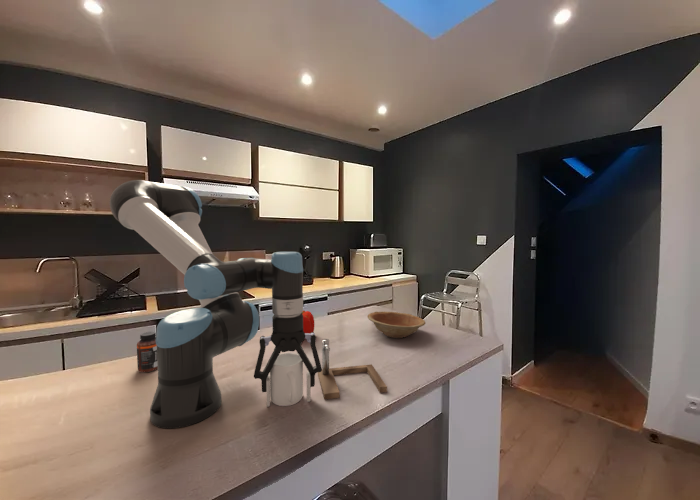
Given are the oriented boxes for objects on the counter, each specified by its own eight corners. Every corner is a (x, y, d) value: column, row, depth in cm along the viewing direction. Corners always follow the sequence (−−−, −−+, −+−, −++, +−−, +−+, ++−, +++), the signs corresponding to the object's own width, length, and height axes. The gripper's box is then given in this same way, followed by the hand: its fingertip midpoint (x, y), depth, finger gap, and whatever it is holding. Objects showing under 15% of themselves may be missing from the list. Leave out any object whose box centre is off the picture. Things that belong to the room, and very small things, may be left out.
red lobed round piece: (298, 330, 133) (298, 306, 132) (321, 336, 125) (321, 311, 124) (274, 339, 122) (273, 313, 121) (297, 346, 114) (297, 319, 113)
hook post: (324, 381, 85) (324, 346, 84) (321, 372, 90) (321, 339, 90) (331, 380, 85) (331, 345, 84) (328, 371, 91) (328, 338, 90)
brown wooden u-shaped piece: (324, 399, 78) (324, 393, 78) (317, 374, 92) (317, 369, 92) (386, 392, 82) (386, 386, 82) (371, 369, 96) (371, 364, 96)
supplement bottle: (163, 368, 95) (161, 333, 95) (140, 375, 91) (139, 338, 90) (157, 363, 99) (156, 329, 99) (135, 369, 95) (134, 333, 94)
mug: (311, 410, 74) (310, 369, 73) (276, 419, 70) (275, 375, 70) (298, 387, 84) (298, 351, 84) (268, 393, 81) (267, 355, 80)
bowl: (431, 346, 115) (431, 325, 115) (368, 345, 116) (368, 324, 115) (418, 326, 139) (418, 309, 138) (366, 326, 139) (366, 308, 139)
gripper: (239, 320, 70) (241, 415, 71) (334, 315, 75) (334, 403, 76) (243, 312, 77) (244, 398, 78) (329, 307, 82) (329, 388, 83)
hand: (288, 400), depth 77 cm, fingers open, 9 cm apart
